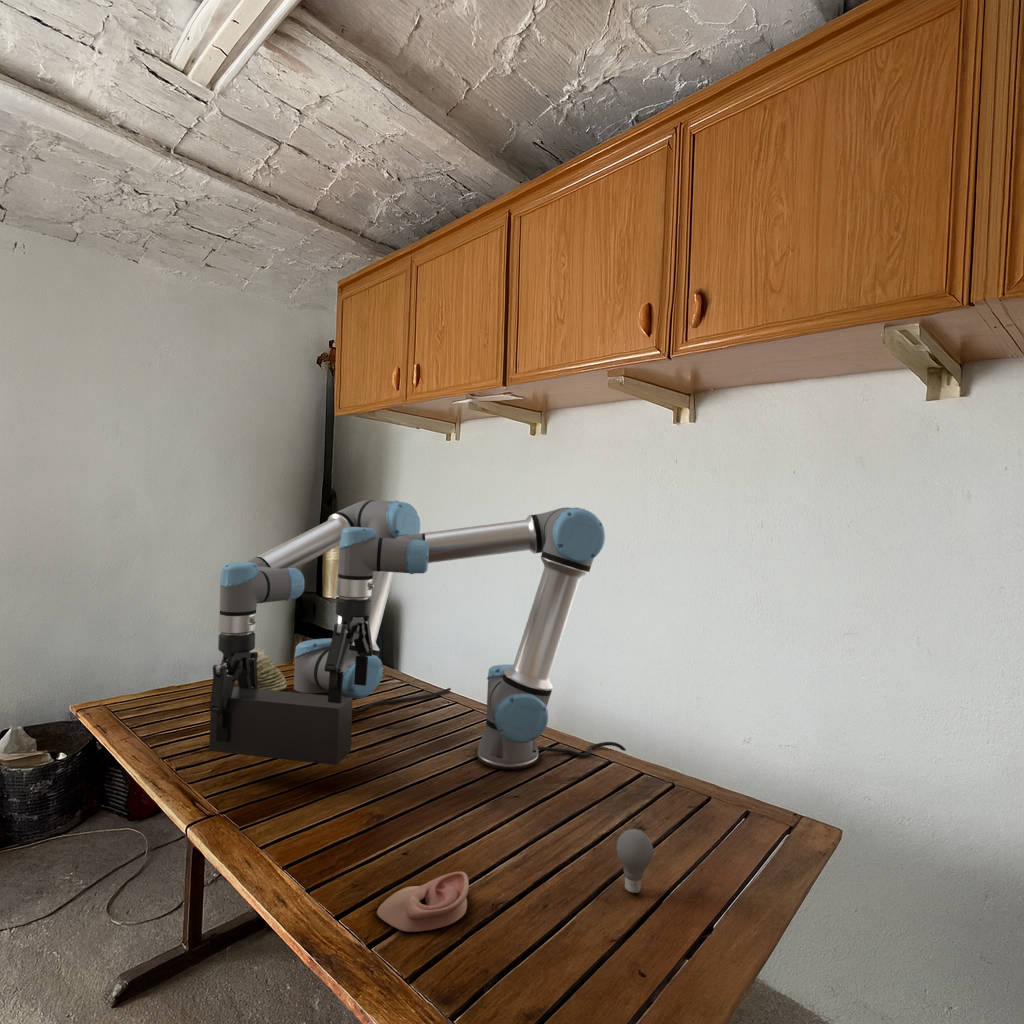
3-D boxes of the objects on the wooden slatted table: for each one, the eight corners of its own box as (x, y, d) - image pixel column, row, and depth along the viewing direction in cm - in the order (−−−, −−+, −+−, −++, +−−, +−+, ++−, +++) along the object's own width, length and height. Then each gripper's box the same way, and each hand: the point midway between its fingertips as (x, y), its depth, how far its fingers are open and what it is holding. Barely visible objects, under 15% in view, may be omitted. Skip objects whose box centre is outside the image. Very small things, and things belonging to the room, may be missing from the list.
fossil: (218, 695, 195) (220, 647, 195) (278, 685, 208) (279, 640, 207) (228, 703, 189) (230, 653, 188) (289, 692, 201) (290, 645, 201)
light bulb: (610, 879, 108) (613, 822, 108) (644, 879, 109) (647, 822, 109) (619, 902, 102) (622, 840, 102) (655, 901, 103) (658, 840, 103)
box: (209, 751, 138) (210, 696, 138) (229, 738, 146) (230, 686, 145) (336, 765, 134) (338, 708, 134) (350, 751, 141) (352, 697, 141)
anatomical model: (369, 898, 94) (398, 856, 105) (368, 925, 94) (397, 880, 106) (454, 914, 92) (475, 869, 103) (453, 941, 92) (474, 893, 103)
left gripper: (225, 643, 130) (221, 753, 131) (276, 624, 150) (273, 720, 151) (192, 640, 131) (188, 749, 132) (247, 622, 152) (244, 717, 152)
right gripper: (346, 607, 126) (339, 713, 127) (390, 591, 151) (384, 679, 151) (311, 604, 128) (304, 708, 128) (360, 588, 152) (354, 676, 153)
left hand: (233, 734), depth 141 cm, fingers closed on box, 7 cm apart
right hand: (348, 693), depth 140 cm, fingers open, 13 cm apart
